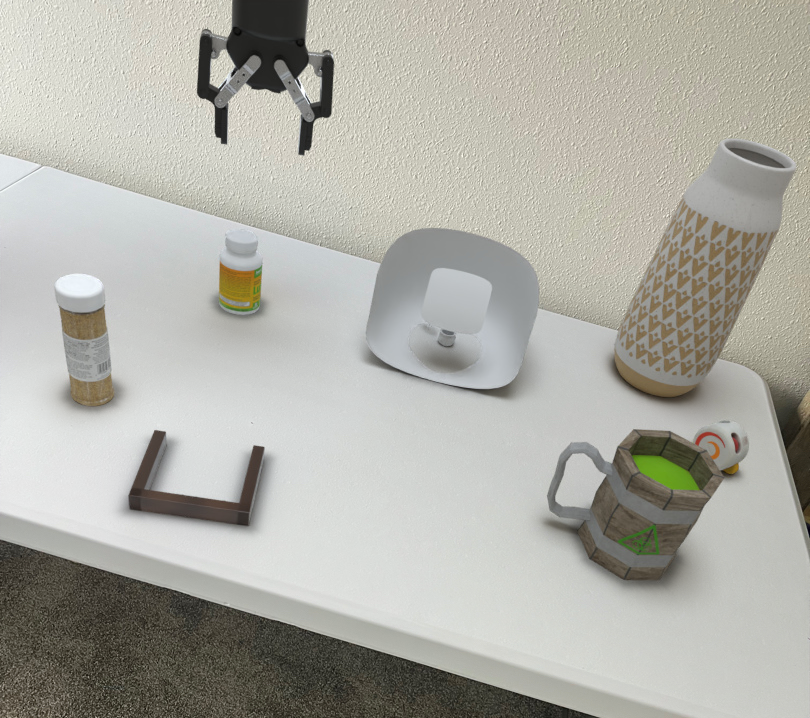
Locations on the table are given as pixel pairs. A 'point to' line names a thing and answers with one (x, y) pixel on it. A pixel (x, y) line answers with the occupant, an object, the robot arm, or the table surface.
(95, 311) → the sprinkles bottle
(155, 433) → the frame
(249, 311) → the supplement bottle
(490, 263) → the rounded square lampshade
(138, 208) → the table surface
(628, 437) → the mug
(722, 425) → the roller toy
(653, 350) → the vase
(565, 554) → the table surface
